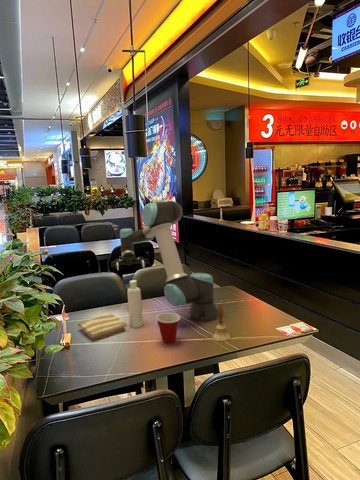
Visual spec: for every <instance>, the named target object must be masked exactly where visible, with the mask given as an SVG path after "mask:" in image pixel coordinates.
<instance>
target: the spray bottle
mask: <svg viewBox="0 0 360 480" xmlns="http://www.w3.org/2000/svg"><path fill="white" fill-rule="evenodd" d="M137 285H138V282H137V279H132V280H130V281H129V286H130V287H128V289H127V292H126V293H127V302H128V314H129V315H128V316H129V326H130V328H134V329H136V328H140V327H142V326H144V315H143V305H142V293H141V288H139V287H138V286H137Z"/></svg>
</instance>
